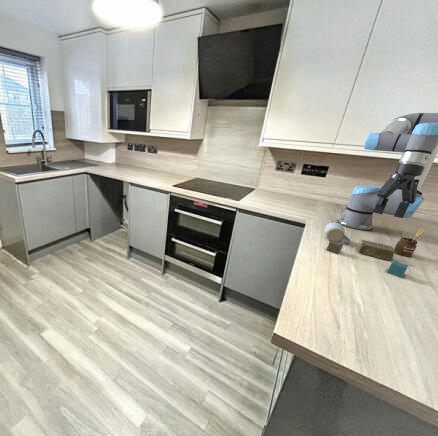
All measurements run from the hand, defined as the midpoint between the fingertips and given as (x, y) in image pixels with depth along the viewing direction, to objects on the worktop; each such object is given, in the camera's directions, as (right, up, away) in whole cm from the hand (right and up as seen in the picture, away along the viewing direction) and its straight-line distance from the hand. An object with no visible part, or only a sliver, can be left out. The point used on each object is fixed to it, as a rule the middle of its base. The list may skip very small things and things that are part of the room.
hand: (387, 215), depth 99 cm
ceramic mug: (-9, -12, +16) cm, 22 cm away
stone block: (-3, -17, +4) cm, 18 cm away
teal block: (-7, -22, -10) cm, 25 cm away
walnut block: (-19, -16, +5) cm, 25 cm away
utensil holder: (+13, -17, +6) cm, 22 cm away
